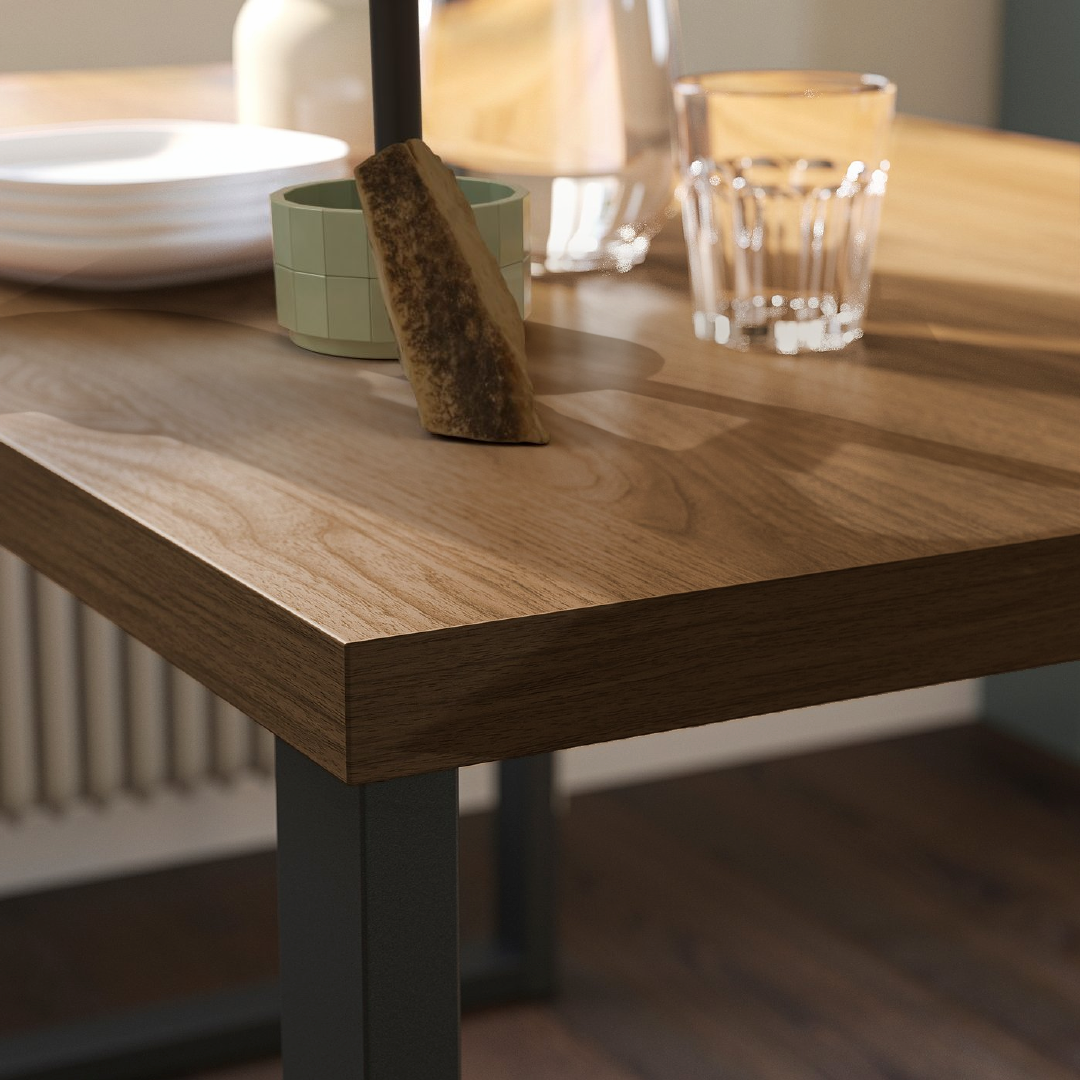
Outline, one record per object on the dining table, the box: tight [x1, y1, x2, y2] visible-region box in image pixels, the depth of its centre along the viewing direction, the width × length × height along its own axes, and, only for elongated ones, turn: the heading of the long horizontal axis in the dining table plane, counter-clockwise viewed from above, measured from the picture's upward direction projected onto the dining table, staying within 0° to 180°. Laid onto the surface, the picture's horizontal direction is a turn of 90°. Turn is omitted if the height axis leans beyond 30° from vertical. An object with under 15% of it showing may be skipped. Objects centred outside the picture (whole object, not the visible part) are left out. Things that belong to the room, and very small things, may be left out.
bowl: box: [268, 175, 532, 360], centre depth 74 cm, size 11×11×6 cm
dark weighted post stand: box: [368, 0, 424, 155], centre depth 71 cm, size 5×5×24 cm
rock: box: [353, 138, 551, 445], centre depth 63 cm, size 11×9×10 cm
